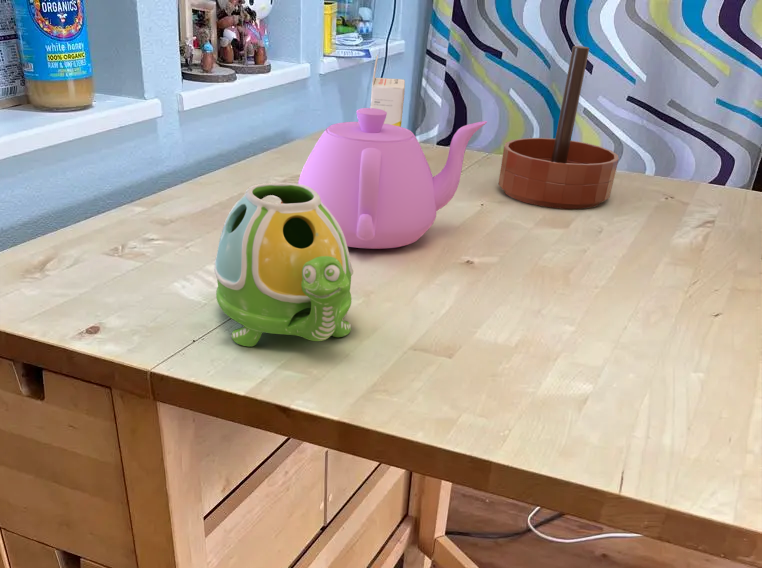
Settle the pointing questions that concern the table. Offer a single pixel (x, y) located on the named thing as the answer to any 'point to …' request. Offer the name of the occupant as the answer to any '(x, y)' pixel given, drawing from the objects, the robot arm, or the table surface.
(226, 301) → the turtle holder
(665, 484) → the table surface
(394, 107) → the ink cartridge box
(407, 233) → the teapot
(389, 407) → the table surface
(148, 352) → the table surface
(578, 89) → the peg on round base
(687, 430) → the table surface
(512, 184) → the bowl
